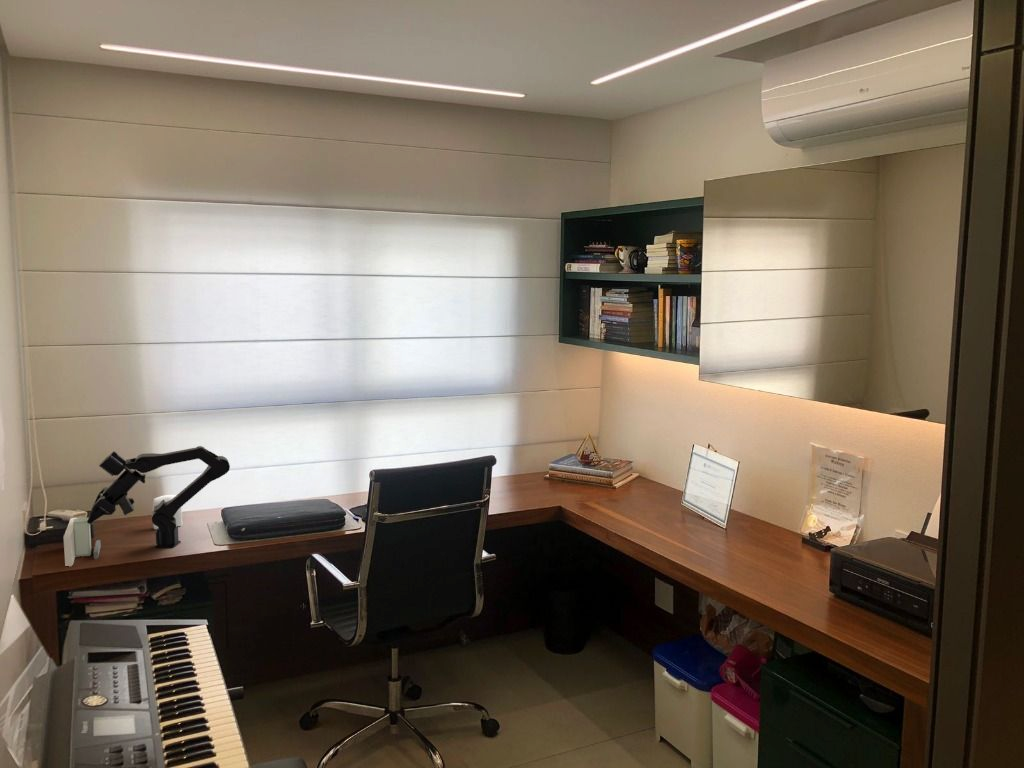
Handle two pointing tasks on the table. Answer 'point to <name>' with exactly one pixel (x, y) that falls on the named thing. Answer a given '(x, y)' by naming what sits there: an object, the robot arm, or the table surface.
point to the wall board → (70, 547)
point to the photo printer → (166, 498)
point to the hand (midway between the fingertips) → (89, 519)
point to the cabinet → (82, 537)
